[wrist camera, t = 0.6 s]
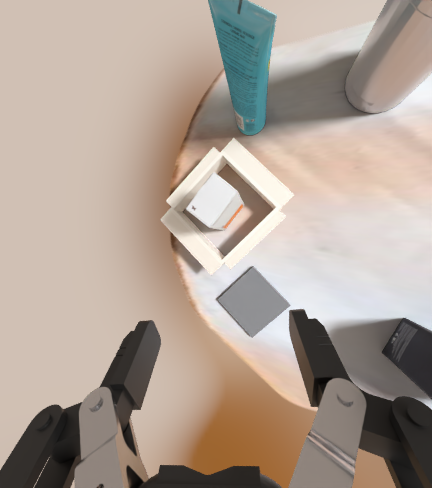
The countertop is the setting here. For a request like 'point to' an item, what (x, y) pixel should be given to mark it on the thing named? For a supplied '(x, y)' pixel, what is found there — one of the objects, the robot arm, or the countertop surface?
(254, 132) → the tube
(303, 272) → the countertop surface
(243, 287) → the coaster
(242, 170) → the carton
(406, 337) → the small box
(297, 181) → the countertop surface
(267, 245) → the countertop surface
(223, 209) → the skincare box
